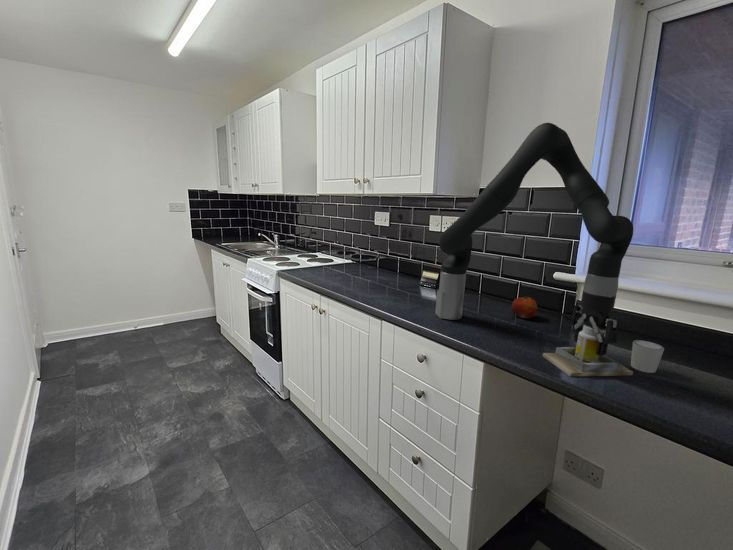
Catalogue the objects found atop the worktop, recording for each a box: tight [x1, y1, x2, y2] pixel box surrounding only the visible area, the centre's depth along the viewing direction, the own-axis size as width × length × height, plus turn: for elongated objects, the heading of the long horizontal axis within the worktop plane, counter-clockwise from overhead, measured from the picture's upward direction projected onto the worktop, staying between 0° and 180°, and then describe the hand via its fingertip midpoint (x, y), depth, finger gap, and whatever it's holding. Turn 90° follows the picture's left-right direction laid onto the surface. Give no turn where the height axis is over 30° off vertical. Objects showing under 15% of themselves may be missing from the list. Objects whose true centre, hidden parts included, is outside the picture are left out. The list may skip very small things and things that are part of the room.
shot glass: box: [630, 339, 665, 374], centre depth 99 cm, size 7×7×7 cm
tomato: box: [511, 296, 538, 319], centre depth 139 cm, size 9×9×8 cm
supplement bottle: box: [575, 325, 599, 363], centre depth 99 cm, size 6×6×10 cm
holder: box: [542, 346, 634, 377], centre depth 99 cm, size 18×12×3 cm, turn 97°
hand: (588, 348), depth 99 cm, fingers open, 8 cm apart
